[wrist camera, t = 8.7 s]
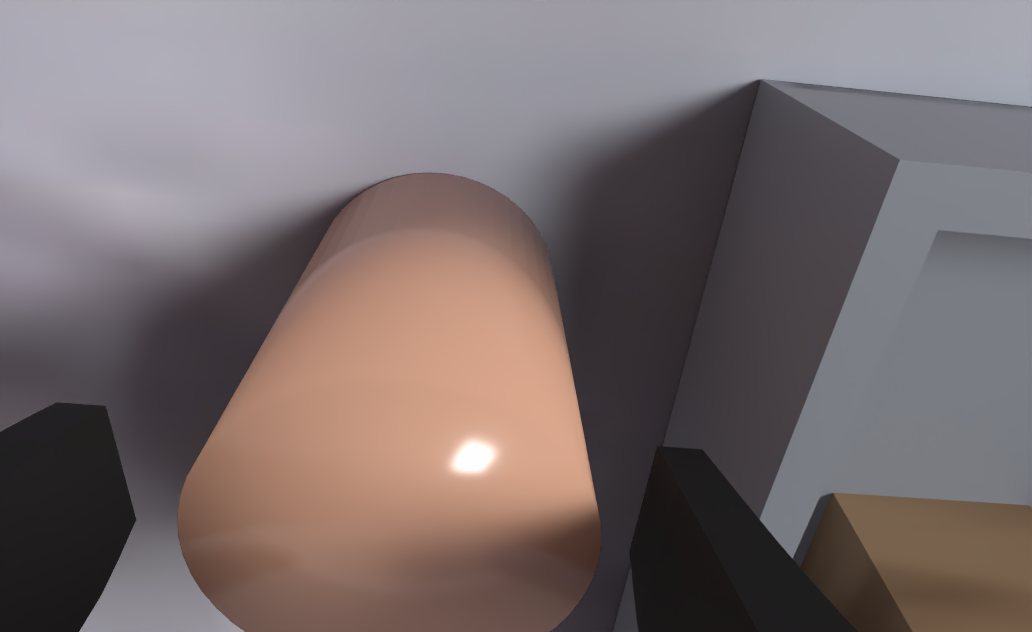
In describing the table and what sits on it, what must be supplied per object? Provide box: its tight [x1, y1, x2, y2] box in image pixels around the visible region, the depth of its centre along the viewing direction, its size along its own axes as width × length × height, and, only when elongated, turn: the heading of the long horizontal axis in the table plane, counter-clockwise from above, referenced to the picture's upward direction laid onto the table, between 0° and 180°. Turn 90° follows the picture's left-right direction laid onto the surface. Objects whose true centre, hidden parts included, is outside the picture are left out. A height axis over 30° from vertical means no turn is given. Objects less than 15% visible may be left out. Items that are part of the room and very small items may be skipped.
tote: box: [613, 79, 1032, 632], centre depth 14 cm, size 18×14×5 cm
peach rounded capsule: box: [177, 173, 601, 632], centre depth 11 cm, size 5×5×7 cm
